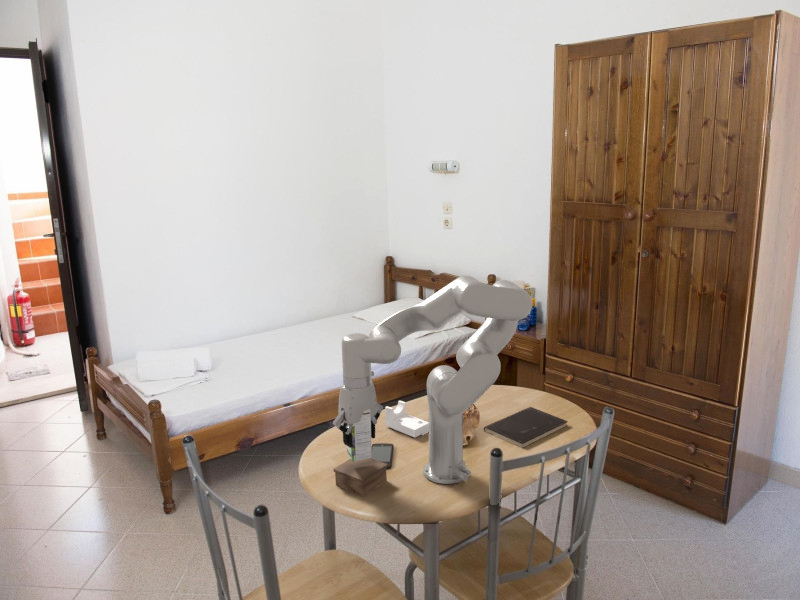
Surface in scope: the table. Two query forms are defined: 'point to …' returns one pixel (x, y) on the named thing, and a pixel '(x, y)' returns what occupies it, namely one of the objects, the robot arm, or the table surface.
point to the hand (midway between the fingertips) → (359, 440)
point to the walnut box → (360, 475)
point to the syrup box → (361, 438)
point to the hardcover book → (525, 426)
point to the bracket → (405, 421)
